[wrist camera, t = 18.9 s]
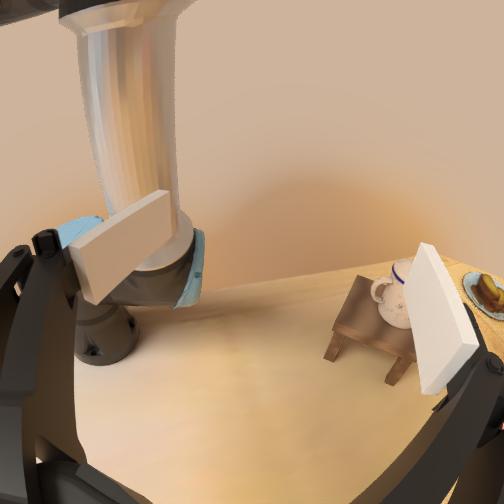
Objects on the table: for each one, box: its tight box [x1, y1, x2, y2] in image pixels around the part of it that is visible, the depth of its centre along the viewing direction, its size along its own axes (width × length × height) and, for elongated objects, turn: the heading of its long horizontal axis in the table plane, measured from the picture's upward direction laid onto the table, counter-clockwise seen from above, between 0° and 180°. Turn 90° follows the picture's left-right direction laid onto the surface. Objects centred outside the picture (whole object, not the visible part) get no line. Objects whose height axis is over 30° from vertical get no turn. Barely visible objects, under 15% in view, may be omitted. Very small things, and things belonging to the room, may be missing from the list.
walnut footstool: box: [324, 275, 417, 386], centre depth 47 cm, size 16×16×10 cm
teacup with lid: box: [371, 258, 414, 329], centre depth 41 cm, size 12×9×12 cm
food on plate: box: [462, 272, 504, 321], centre depth 63 cm, size 25×10×25 cm
